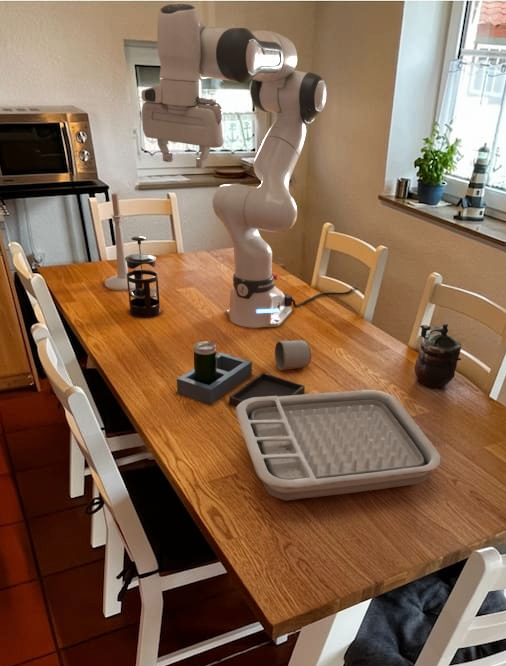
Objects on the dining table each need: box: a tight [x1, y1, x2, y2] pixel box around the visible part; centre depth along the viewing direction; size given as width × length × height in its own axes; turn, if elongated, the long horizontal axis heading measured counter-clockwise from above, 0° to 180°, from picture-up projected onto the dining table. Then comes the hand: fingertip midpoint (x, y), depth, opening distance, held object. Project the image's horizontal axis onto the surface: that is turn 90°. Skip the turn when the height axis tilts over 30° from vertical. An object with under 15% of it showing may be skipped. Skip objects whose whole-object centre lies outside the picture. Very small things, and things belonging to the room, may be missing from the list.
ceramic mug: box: [274, 339, 312, 371], centre depth 157 cm, size 11×8×8 cm
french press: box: [125, 235, 162, 319], centre depth 177 cm, size 12×9×23 cm
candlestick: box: [104, 192, 136, 292], centre depth 194 cm, size 13×13×30 cm
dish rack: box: [235, 389, 442, 501], centre depth 121 cm, size 32×37×8 cm
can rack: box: [176, 351, 253, 405], centre depth 146 cm, size 18×10×4 cm, turn 153°
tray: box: [228, 372, 306, 408], centre depth 142 cm, size 15×12×2 cm
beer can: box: [192, 340, 218, 385], centre depth 141 cm, size 5×5×12 cm
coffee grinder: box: [414, 322, 462, 389], centre depth 151 cm, size 13×15×18 cm
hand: (184, 164), depth 135 cm, fingers open, 8 cm apart
